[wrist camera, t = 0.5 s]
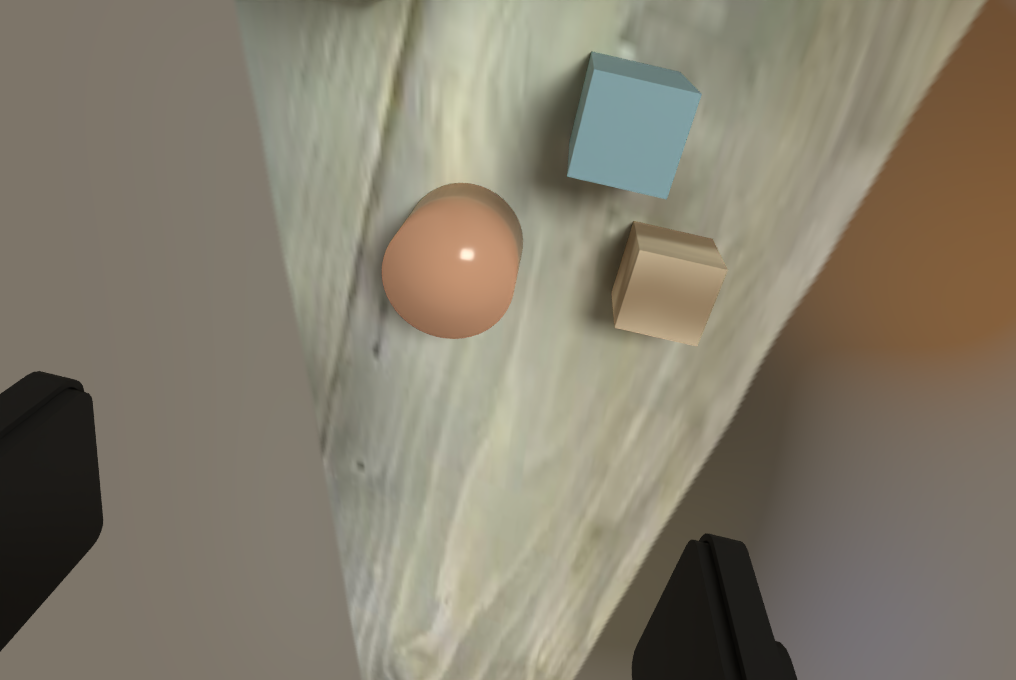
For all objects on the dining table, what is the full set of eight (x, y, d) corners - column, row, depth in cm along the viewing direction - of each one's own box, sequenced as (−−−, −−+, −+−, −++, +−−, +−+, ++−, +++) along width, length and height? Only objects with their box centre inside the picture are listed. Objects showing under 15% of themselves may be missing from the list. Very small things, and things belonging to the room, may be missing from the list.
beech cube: (633, 220, 33) (639, 249, 29) (712, 238, 33) (727, 270, 29) (611, 291, 35) (614, 327, 31) (685, 308, 35) (697, 346, 31)
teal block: (591, 51, 29) (594, 69, 24) (680, 71, 29) (701, 94, 24) (569, 142, 31) (567, 176, 26) (652, 161, 31) (666, 199, 26)
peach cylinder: (415, 170, 33) (389, 201, 28) (534, 197, 33) (527, 232, 28) (400, 279, 35) (375, 322, 31) (510, 304, 36) (500, 351, 31)
